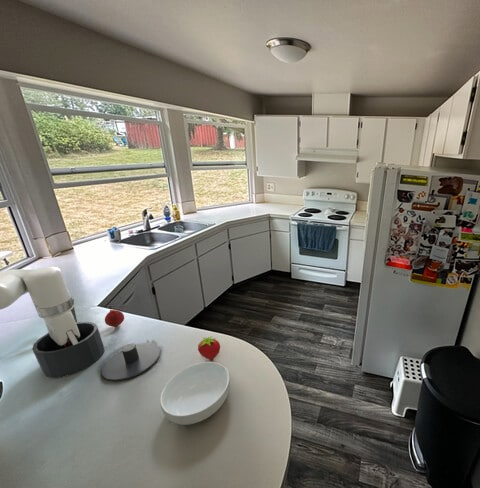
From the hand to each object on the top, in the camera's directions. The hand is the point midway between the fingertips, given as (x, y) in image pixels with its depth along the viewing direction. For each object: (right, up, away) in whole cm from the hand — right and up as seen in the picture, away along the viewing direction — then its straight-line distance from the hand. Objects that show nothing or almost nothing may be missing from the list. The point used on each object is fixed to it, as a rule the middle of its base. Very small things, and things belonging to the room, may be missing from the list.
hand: (73, 353), depth 82 cm
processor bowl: (0, -2, +1) cm, 2 cm away
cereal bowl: (+48, -9, -12) cm, 50 cm away
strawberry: (+44, -3, +3) cm, 44 cm away
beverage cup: (-16, +3, +14) cm, 22 cm away
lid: (+19, -3, 0) cm, 19 cm away
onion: (0, +3, +17) cm, 17 cm away
